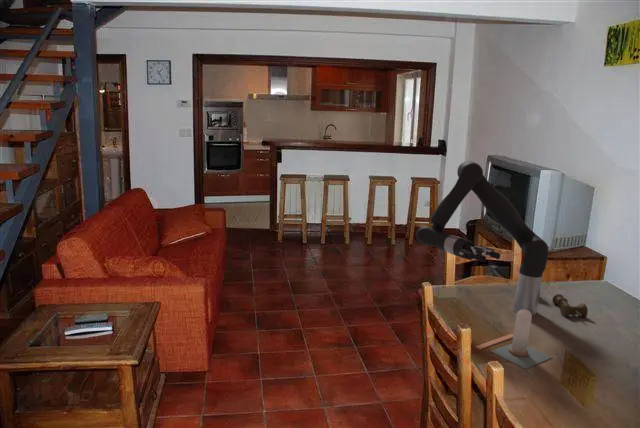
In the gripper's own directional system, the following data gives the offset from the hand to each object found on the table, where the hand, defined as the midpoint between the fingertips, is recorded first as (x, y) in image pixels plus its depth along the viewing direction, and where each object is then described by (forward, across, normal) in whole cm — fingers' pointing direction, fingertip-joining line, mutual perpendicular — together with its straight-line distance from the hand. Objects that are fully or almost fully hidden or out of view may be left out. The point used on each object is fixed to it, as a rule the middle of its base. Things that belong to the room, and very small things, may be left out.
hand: (492, 258), depth 196 cm
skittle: (+18, -3, +30) cm, 35 cm away
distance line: (+8, -2, +30) cm, 31 cm away
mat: (+19, -3, +30) cm, 36 cm away
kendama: (+6, +52, +30) cm, 60 cm away
